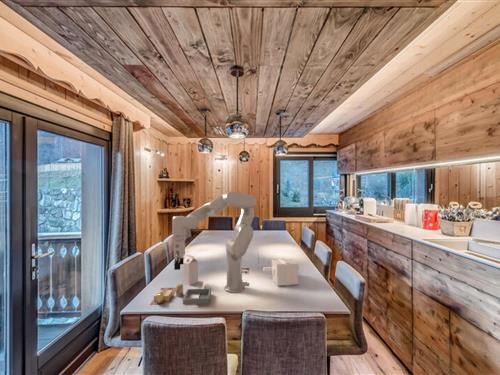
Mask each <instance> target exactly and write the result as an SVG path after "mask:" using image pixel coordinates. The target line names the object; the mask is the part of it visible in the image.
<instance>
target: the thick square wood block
mask: <svg viewBox="0 0 500 375" xmlns="http://www.w3.org/2000/svg"><path fill="white" fill-rule="evenodd" d="M157 293H164V301H169V300H170V298H171V297H172V296H173V297H174V295H173V290H160V289H159V290H158V291H156V293H155V294H154V295H153V300H154V301H157ZM173 297H172V298H173Z"/></svg>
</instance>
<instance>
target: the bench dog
mask: <svg viewBox="0 0 500 375" xmlns="http://www.w3.org/2000/svg"><path fill="white" fill-rule="evenodd" d="M156 293H157V292H156ZM163 303H164V293H157V304H158V305H157V306H161V305H160V304H163Z"/></svg>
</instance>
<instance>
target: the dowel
mask: <svg viewBox="0 0 500 375" xmlns="http://www.w3.org/2000/svg"><path fill="white" fill-rule="evenodd" d="M175 288H176V292H175V296H176V297H182V296H183V297H184V283H178V284H176V285H175Z"/></svg>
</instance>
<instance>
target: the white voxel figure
mask: <svg viewBox="0 0 500 375" xmlns="http://www.w3.org/2000/svg"><path fill="white" fill-rule="evenodd" d="M262 271H263V272H271V280H272V281H273V282H274V283H275V285H276V286H285V287H290V286H292V285H299V281H300V280H299V263H298V262H296V261H295V260H294V259H292V258H283V257H282V258H281V257H280V258H279V259H272V260H271V266H265V267H263V270H262Z"/></svg>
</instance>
